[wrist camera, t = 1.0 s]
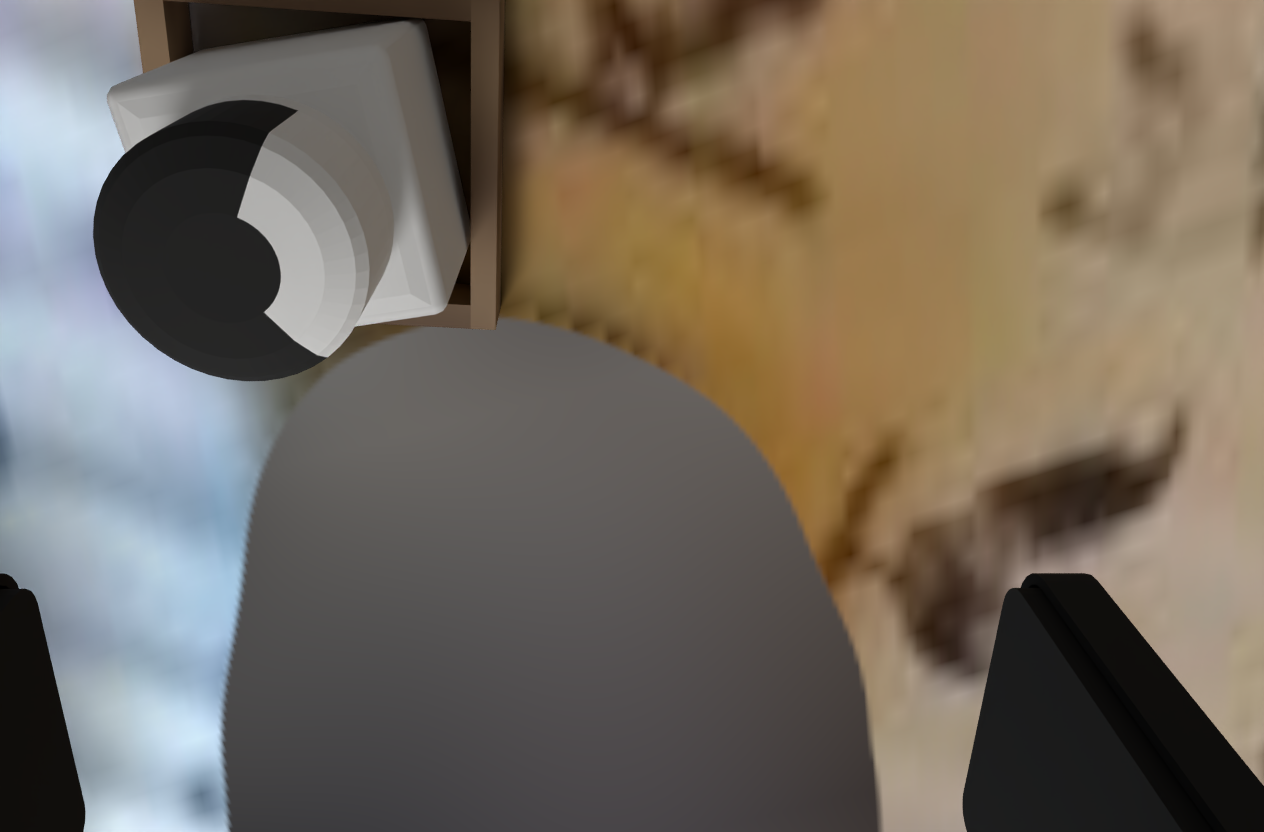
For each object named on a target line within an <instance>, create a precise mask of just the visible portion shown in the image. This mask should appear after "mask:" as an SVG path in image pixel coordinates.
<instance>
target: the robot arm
mask: <svg viewBox="0 0 1264 832" xmlns="http://www.w3.org/2000/svg"><path fill="white" fill-rule="evenodd" d="M963 816H964V822H965V826H966V830H967V832H1264V786H1263V785H1262V783H1261V782H1260V781H1259V780H1258V778H1257V777H1256V776H1255V775H1254V773H1253V772H1252V771H1251V770H1250V769H1249V767H1248V766H1247V765H1246V764H1245V762H1244V761H1243V760H1242V759H1241V757H1240V756H1239V755H1238V754H1237V752H1236V751H1235V750H1234V749H1233V748H1232V746H1231V745H1230V744H1229V743H1228V741H1227V740H1226V739H1225V738H1224V736H1223V735H1222V734H1221V733H1220V731H1219V730H1218V729H1217V728H1216V727H1215V725H1214V724H1213V723H1212V722H1211V720H1210V719H1209V718H1208V717H1207V715H1206V714H1205V713H1204V712H1203V710H1202V709H1201V708H1200V707H1199V705H1198V704H1197V703H1196V702H1195V701H1194V699H1193V698H1192V697H1191V696H1190V694H1189V693H1188V692H1187V691H1186V689H1185V688H1184V687H1183V686H1182V684H1181V683H1180V682H1179V681H1178V680H1177V678H1176V677H1175V676H1174V675H1173V673H1172V672H1171V671H1170V670H1169V668H1168V667H1167V666H1166V665H1165V663H1164V662H1163V661H1162V660H1161V659H1160V657H1159V656H1158V655H1157V654H1156V652H1155V651H1154V650H1153V649H1152V647H1151V646H1150V645H1149V644H1148V642H1147V641H1146V640H1145V639H1144V638H1143V636H1142V635H1141V634H1140V633H1139V631H1138V630H1137V629H1136V628H1135V626H1134V625H1133V624H1132V623H1131V621H1130V620H1129V619H1128V618H1127V617H1126V615H1125V614H1124V613H1123V612H1122V610H1121V609H1120V608H1119V607H1118V605H1117V604H1116V603H1115V602H1114V600H1113V599H1112V598H1111V597H1110V595H1109V594H1108V593H1107V592H1106V591H1105V589H1104V588H1103V587H1102V586H1101V584H1100V583H1099V582H1098V581H1097V580H1096V579H1095V578H1094V577H1093V576H1092V575H1089V574H1084V573H1032V574H1030V575H1028V576H1027V577H1026V578H1025V580H1024V581H1023V583H1022V586H1021V588H1012V589H1010V590H1009V591H1008V592H1007V594H1006V595H1005V598H1004V602H1003V606H1002V611H1001V616H1000V620H999V625H998V630H997V635H996V640H995V644H994V649H993V654H992V659H991V663H990V668H989V673H988V678H987V683H986V687H985V692H984V697H983V702H982V706H981V711H980V716H979V721H978V726H977V730H976V735H975V740H974V745H973V750H972V754H971V759H970V764H969V769H968V773H967V778H966V783H965V788H964V793H963ZM84 824H85V805H84V800H83V796H82V791H81V787H80V783H79V779H78V774H77V770H76V766H75V761H74V757H73V753H72V749H71V744H70V740H69V736H68V731H67V727H66V723H65V719H64V714H63V710H62V706H61V701H60V697H59V693H58V689H57V684H56V680H55V676H54V671H53V667H52V663H51V659H50V654H49V650H48V646H47V642H46V637H45V633H44V629H43V624H42V620H41V616H40V612H39V607H38V603H37V601H36V598H35V596H34V594H33V593H32V592H31V591H30V590H27V589H19V588H18V585H17V583H16V582H15V580H14V579H13V578H12V577H11V576H9V575H7V574H0V832H83V830H84Z"/></svg>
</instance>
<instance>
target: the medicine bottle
mask: <svg viewBox="0 0 1264 832" xmlns="http://www.w3.org/2000/svg"><path fill="white" fill-rule="evenodd" d="M107 103H108V106H109V108H110V111H111V114H112V117H113V120H114V122H115V125H116V128H117V131H118V134H119V136H120V139H121V142H122V145H123V148H124V150H125V154H124V155H123V156H122V157H121V159H120V160H119V161H118V162H117V163H116V165H115V166H114V167H113V168H112V170H111V171H110V173H109V175H108V177H107V179H106V180H105V182H104V184H103V186H102V189H101V192H100V194H99V197H98V200H97V204H96V210H95V215H94V229H93V239H94V247H95V255H96V259H97V263H98V266H99V270H100V274H101V276H102V278H103V281H104V283H105V285H106V288H107V290H108V292H109V294H110V296H111V297H112V299H113V301H114V302H115V304H116V306H117V308H118V309H119V310H120V312H121V313H122V314H123V315H124V317H125V318H126V319H127V321H128V322H129V323H130V324H131V325H132V326H133V327H134V328H135V330H136V331H137V332H138V333H139V334H140V335H141V336H142V337H143V338H145V339H146V340H147V341H148V342H149V343H151V344H152V345H153V346H154V347H156V348H157V349H158V350H159V351H161V352H163V353H164V354H166V355H167V356H169V357H170V358H172V359H174V360H175V361H177V362H179V363H181V364H183V365H185V366H187V367H189V368H191V369H194V370H197V371H200V372H203V373H205V374H208V375H212V376H216V377H220V378H225V379H231V380H240V381H266V380H273V379H280V378H284V377H287V376H291V375H294V374H298V373H300V372H302V371H304V370H307V369H309V368H311V367H313V366H315V365H316V364H318V363H320V362H321V361H323V360H324V359H326V358H327V357H329V356H330V355H331V354H332V353H333V352H334V351H335V350H336V349H338V348H339V347H340V346H341V344H342V343H343V342H344V341H345V340H346V338H347V337H348V336H349V335H350V333H351V332H352V330H353V328H354V327H355V326H361V325H368V324H375V323H381V322H388V321H395V320H401V319H408V318H415V317H421V316H428V315H435V314H438V313H440V312H442V311H443V310H444V309H445V308H446V306H447V304H448V301H449V299H450V296H451V293H452V290H453V288H454V285H455V282H456V279H457V277H458V274H459V271H460V268H461V265H462V263H463V260H464V257H465V254H466V252H467V249H468V246H469V243H470V241H471V224H470V220H469V215H468V211H467V206H466V202H465V197H464V193H463V188H462V183H461V179H460V174H459V170H458V165H457V161H456V156H455V152H454V147H453V143H452V138H451V134H450V129H449V125H448V120H447V116H446V111H445V107H444V102H443V97H442V93H441V88H440V84H439V79H438V75H437V70H436V66H435V61H434V57H433V52H432V48H431V43H430V39H429V34H428V30H427V26H426V24H425V22H424V20H423V19H421V18H413V17H399V18H393V19H386V20H380V21H374V22H368V23H362V24H355V25H349V26H343V27H337V28H331V29H324V30H318V31H312V32H306V33H300V34H293V35H287V36H281V37H275V38H269V39H263V40H256V41H250V42H244V43H238V44H232V45H225V46H219V47H213V48H207V49H202V50H200V51H197V52H195V53H192V54H190V55H188V56H185V57H183V58H180V59H178V60H175V61H173V62H170V63H168V64H166V65H163V66H161V67H158V68H156V69H153V70H151V71H148V72H146V73H144V74H141V75H139V76H136V77H134V78H131V79H129V80H126V81H124V82H122V83H119V84H117V85H115V86H113V87H111V89H110V91H109V92H108V94H107Z"/></svg>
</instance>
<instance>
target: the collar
mask: <svg viewBox="0 0 1264 832" xmlns="http://www.w3.org/2000/svg"><path fill="white" fill-rule="evenodd" d="M188 2H194V3H208V4H223V5H238V6H252V7H267V8H282V9H296V10H311V11H325V12H340V13H355V14H369V15H384V16H399V17H413V18H428V19H443V20H457V21H471V284H457V283H455V285H454V288H453V290H452V293H451V296H450V299H449V301H448V304H447V306H446V308H445V309H444V310H443V311H442V312H440V313H438V314H435V315H428V316H421V317H415V318H408V319H401V320H395V321H388V322H381V323H375V324H392V325H411V326H430V327H449V328H468V329H487V330H495V329H496V325H497V321H498V317H499V312H500V308H501V238H502V169H503V100H504V30H505V0H134V6H135V14H136V21H137V29H138V37H139V45H140V52H141V60H142V68H143V74H144V73H146V72H148V71H151V70H153V69H156V68H158V67H161V66H163V65H166V64H168V63H170V62H173V61H175V60H178V59H180V58H183V57H185V56H188V55H190V54H192V53H194V52H193V43H192V33H191V24H190V15H189V6H188Z"/></svg>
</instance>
